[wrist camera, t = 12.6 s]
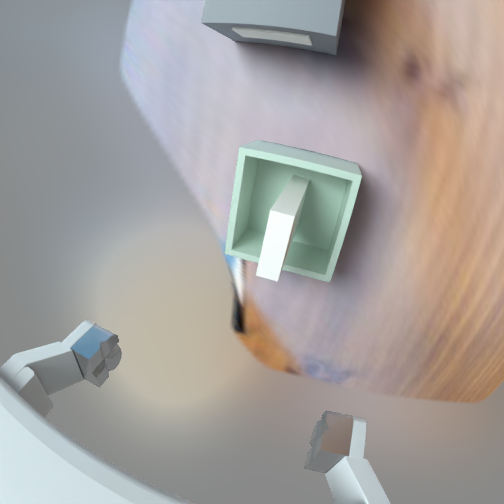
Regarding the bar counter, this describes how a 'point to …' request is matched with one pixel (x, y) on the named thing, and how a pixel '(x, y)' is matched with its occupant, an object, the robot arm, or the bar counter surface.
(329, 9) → the block
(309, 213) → the stub box
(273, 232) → the pale bar
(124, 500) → the robot arm
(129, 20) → the bar counter surface
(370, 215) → the bar counter surface
